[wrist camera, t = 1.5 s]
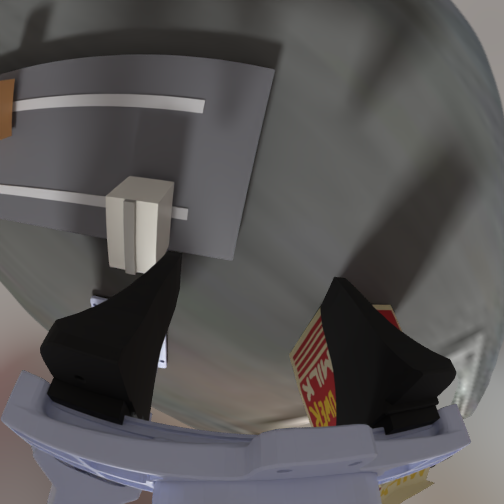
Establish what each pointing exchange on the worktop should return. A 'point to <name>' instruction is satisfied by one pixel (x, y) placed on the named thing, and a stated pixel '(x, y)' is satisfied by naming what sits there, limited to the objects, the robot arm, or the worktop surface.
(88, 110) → the mixing panel
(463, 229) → the worktop surface
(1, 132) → the fader orange
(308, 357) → the milk carton
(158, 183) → the block
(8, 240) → the worktop surface
